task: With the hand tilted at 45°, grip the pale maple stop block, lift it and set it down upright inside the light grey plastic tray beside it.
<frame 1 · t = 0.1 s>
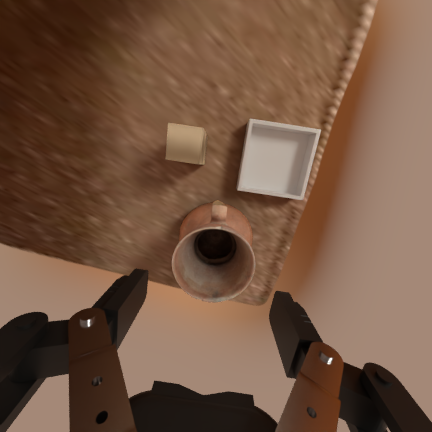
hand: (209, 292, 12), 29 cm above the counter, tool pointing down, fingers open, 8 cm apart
stop block: (193, 149, 38), on the counter
tray: (272, 161, 38), on the counter
ceramic jug: (215, 235, 43), on the counter
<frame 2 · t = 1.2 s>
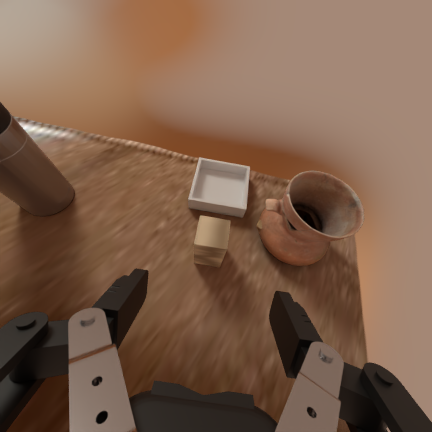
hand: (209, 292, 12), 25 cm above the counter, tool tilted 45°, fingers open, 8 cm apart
stop block: (208, 253, 39), on the counter
tray: (219, 191, 47), on the counter
ceramic jug: (290, 237, 43), on the counter
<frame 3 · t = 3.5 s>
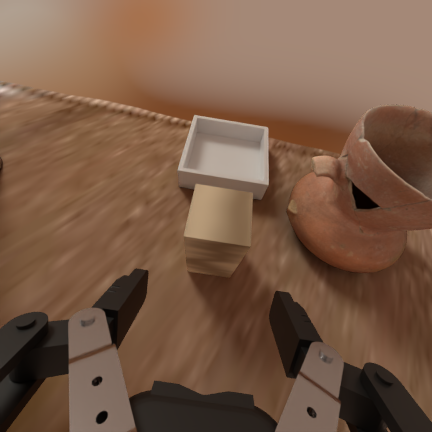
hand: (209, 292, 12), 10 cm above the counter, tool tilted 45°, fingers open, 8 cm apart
stop block: (211, 254, 24), on the counter
tray: (224, 163, 32), on the counter
ceramic jug: (334, 227, 28), on the counter
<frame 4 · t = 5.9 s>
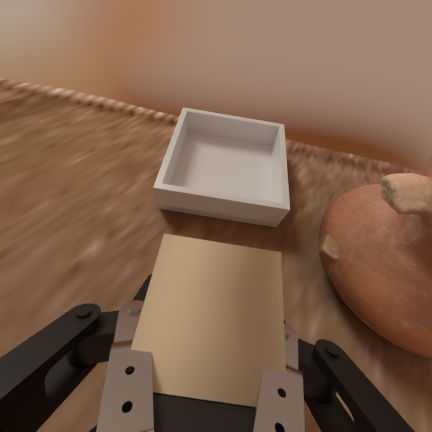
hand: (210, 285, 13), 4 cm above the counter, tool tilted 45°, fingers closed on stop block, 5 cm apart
stop block: (203, 320, 16), on the counter, touching gripper
tray: (224, 174, 24), on the counter
ceramic jug: (382, 268, 20), on the counter
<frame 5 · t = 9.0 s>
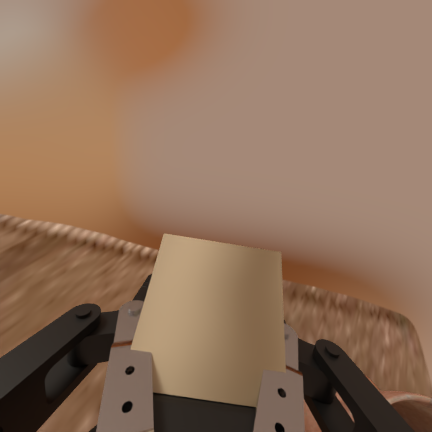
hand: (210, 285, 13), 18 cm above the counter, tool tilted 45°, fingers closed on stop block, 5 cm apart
stop block: (203, 320, 16), point 14 cm above the counter, touching gripper
ceramic jug: (326, 427, 24), on the counter
when the fingers open (6 cm above the counter, at t = 12.0 s): stop block drops 1 cm, resting on tray.
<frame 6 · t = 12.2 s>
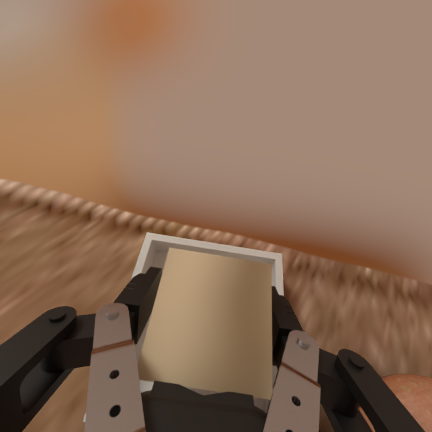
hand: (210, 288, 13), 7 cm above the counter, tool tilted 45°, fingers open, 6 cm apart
stop block: (203, 321, 17), point 1 cm above the counter, touching tray
tray: (202, 321, 18), on the counter
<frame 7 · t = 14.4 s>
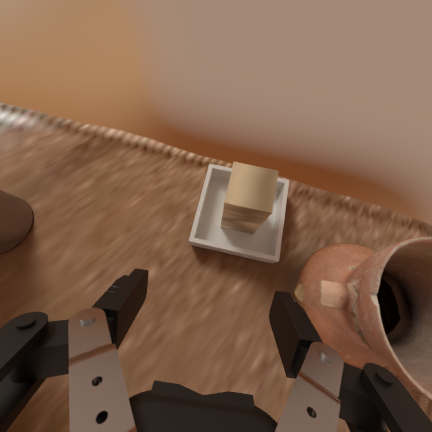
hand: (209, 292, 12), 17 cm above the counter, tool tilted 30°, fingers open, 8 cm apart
stop block: (239, 215, 31), point 1 cm above the counter, touching tray
tray: (238, 216, 31), on the counter
ceramic jug: (343, 299, 28), on the counter
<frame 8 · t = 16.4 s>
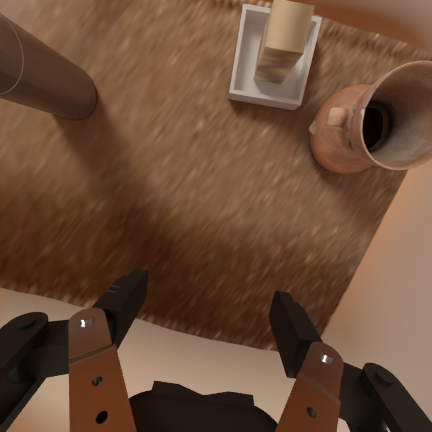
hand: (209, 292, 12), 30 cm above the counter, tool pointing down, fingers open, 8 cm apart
stop block: (270, 65, 34), point 1 cm above the counter, touching tray
tray: (268, 67, 35), on the counter
ceramic jug: (344, 135, 38), on the counter
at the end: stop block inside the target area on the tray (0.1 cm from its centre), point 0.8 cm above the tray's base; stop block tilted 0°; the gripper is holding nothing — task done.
